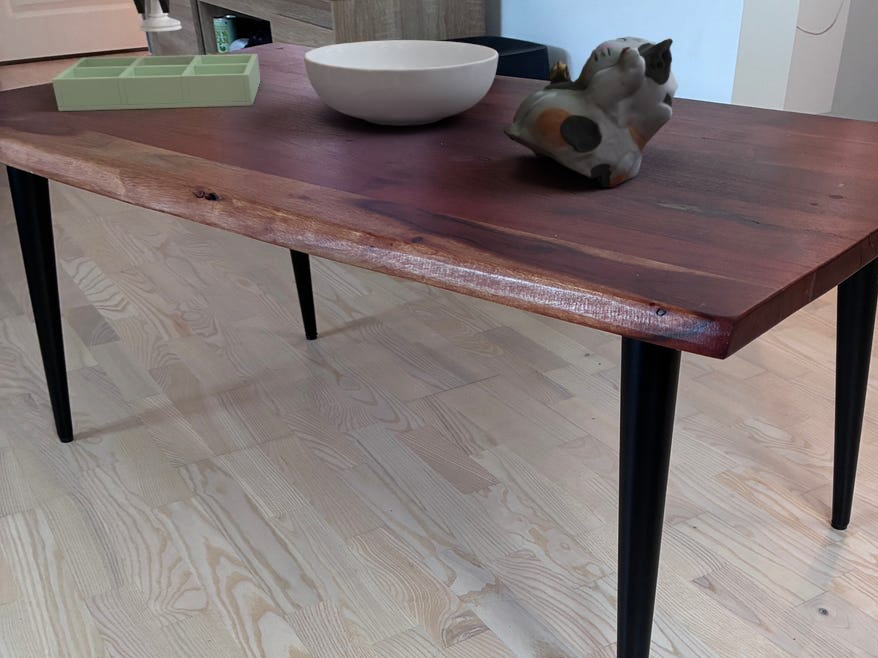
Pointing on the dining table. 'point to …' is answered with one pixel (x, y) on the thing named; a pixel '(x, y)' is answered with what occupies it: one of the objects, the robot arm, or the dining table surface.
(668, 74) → the lucky cat figurine
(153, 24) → the chess piece
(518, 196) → the dining table surface
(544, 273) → the dining table surface
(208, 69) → the compartment tray
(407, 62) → the serving bowl
